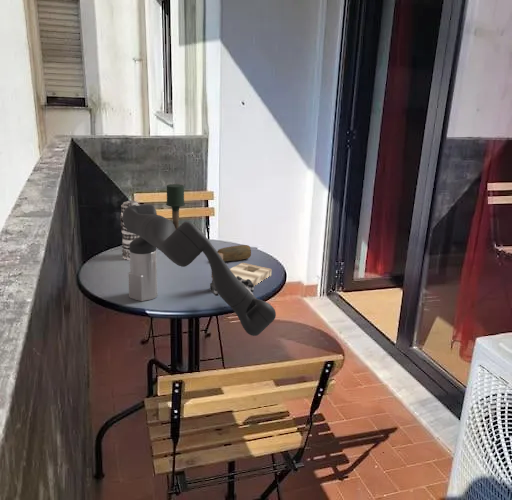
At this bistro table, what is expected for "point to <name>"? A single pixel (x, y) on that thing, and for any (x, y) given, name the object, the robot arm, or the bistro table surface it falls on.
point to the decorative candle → (127, 235)
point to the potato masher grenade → (175, 201)
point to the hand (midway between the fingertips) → (226, 279)
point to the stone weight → (235, 252)
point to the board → (251, 272)
